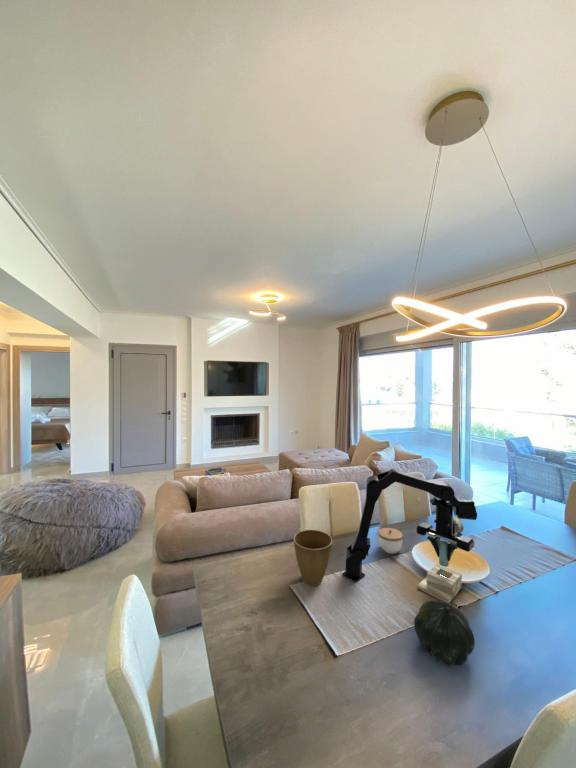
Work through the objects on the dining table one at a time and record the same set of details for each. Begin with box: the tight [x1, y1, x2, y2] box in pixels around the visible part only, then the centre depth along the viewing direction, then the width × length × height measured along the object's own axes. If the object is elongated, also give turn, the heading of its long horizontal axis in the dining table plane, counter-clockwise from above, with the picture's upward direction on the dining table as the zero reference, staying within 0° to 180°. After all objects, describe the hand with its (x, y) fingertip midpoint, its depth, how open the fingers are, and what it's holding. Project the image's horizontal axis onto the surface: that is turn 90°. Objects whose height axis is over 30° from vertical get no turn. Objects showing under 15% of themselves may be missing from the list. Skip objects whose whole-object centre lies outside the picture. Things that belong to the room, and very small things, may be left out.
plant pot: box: [293, 529, 333, 586], centre depth 120 cm, size 15×15×16 cm
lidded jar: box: [377, 527, 404, 555], centre depth 142 cm, size 11×11×9 cm
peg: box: [438, 540, 450, 568], centre depth 116 cm, size 3×3×8 cm
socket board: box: [416, 564, 463, 604], centre depth 115 cm, size 12×11×5 cm
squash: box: [413, 600, 476, 667], centre depth 88 cm, size 14×15×15 cm
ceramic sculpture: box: [434, 517, 465, 537], centre depth 157 cm, size 11×9×15 cm
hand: (443, 558), depth 116 cm, fingers closed on peg, 3 cm apart
